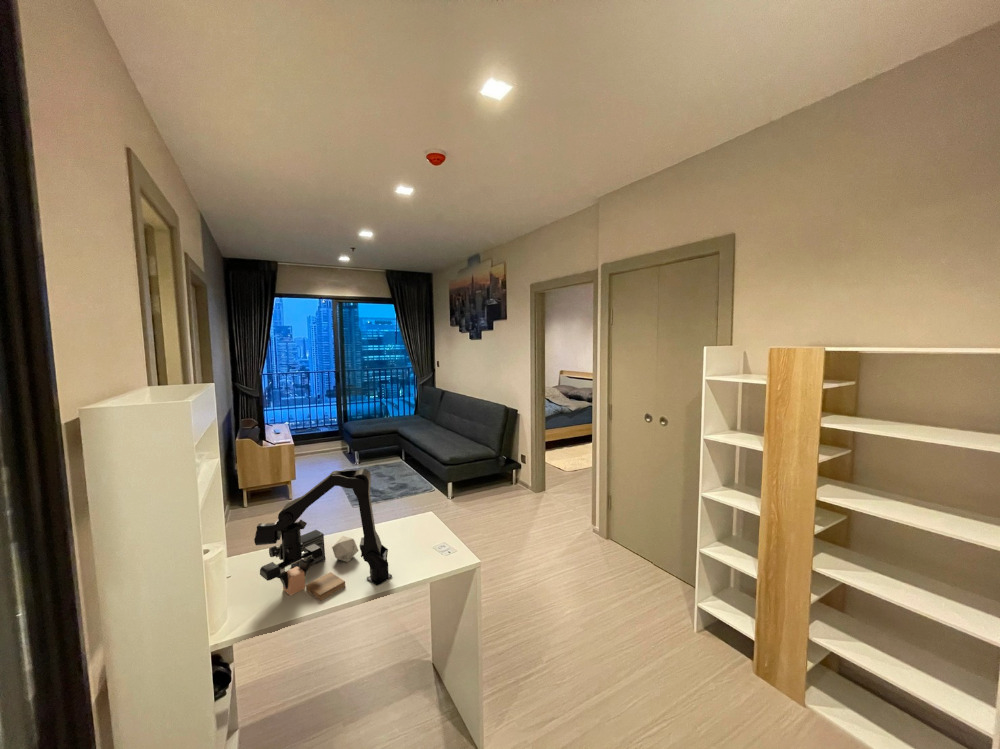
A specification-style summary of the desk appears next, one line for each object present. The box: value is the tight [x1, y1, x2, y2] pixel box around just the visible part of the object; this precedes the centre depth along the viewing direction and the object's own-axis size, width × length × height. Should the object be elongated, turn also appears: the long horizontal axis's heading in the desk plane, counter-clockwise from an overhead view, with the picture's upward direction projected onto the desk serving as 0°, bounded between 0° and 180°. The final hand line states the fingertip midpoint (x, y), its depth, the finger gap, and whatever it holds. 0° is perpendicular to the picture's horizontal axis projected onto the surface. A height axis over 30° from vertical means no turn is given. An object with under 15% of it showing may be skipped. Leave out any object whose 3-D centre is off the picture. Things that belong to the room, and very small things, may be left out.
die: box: [331, 535, 359, 563], centre depth 155 cm, size 8×9×10 cm
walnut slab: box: [305, 571, 346, 601], centre depth 137 cm, size 9×9×2 cm
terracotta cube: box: [282, 567, 306, 596], centre depth 137 cm, size 5×5×6 cm
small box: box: [290, 529, 327, 568], centre depth 152 cm, size 11×6×10 cm, turn 141°
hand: (294, 584), depth 137 cm, fingers closed on terracotta cube, 5 cm apart
